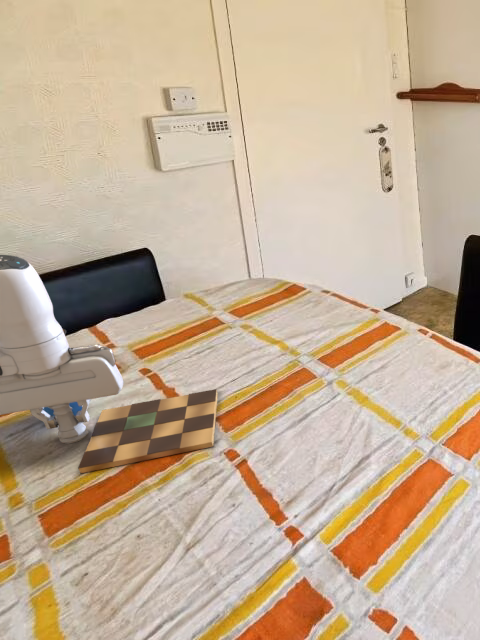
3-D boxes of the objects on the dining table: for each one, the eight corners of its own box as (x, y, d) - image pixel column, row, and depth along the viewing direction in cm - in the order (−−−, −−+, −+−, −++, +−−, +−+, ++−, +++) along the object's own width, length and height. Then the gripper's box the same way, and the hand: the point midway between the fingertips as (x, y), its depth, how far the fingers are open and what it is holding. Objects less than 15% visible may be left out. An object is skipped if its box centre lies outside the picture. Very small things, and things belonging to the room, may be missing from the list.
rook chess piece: (94, 434, 111) (77, 395, 107) (68, 447, 108) (50, 407, 104) (81, 428, 113) (64, 390, 109) (55, 440, 110) (36, 401, 106)
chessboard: (80, 473, 101) (78, 468, 100) (103, 414, 117) (101, 409, 117) (213, 446, 107) (211, 441, 106) (217, 393, 123) (216, 389, 123)
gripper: (112, 335, 108) (137, 403, 115) (-28, 356, 102) (7, 427, 109) (105, 349, 103) (132, 420, 110) (-43, 372, 97) (-5, 446, 104)
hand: (69, 424), depth 109 cm, fingers closed on rook chess piece, 3 cm apart
